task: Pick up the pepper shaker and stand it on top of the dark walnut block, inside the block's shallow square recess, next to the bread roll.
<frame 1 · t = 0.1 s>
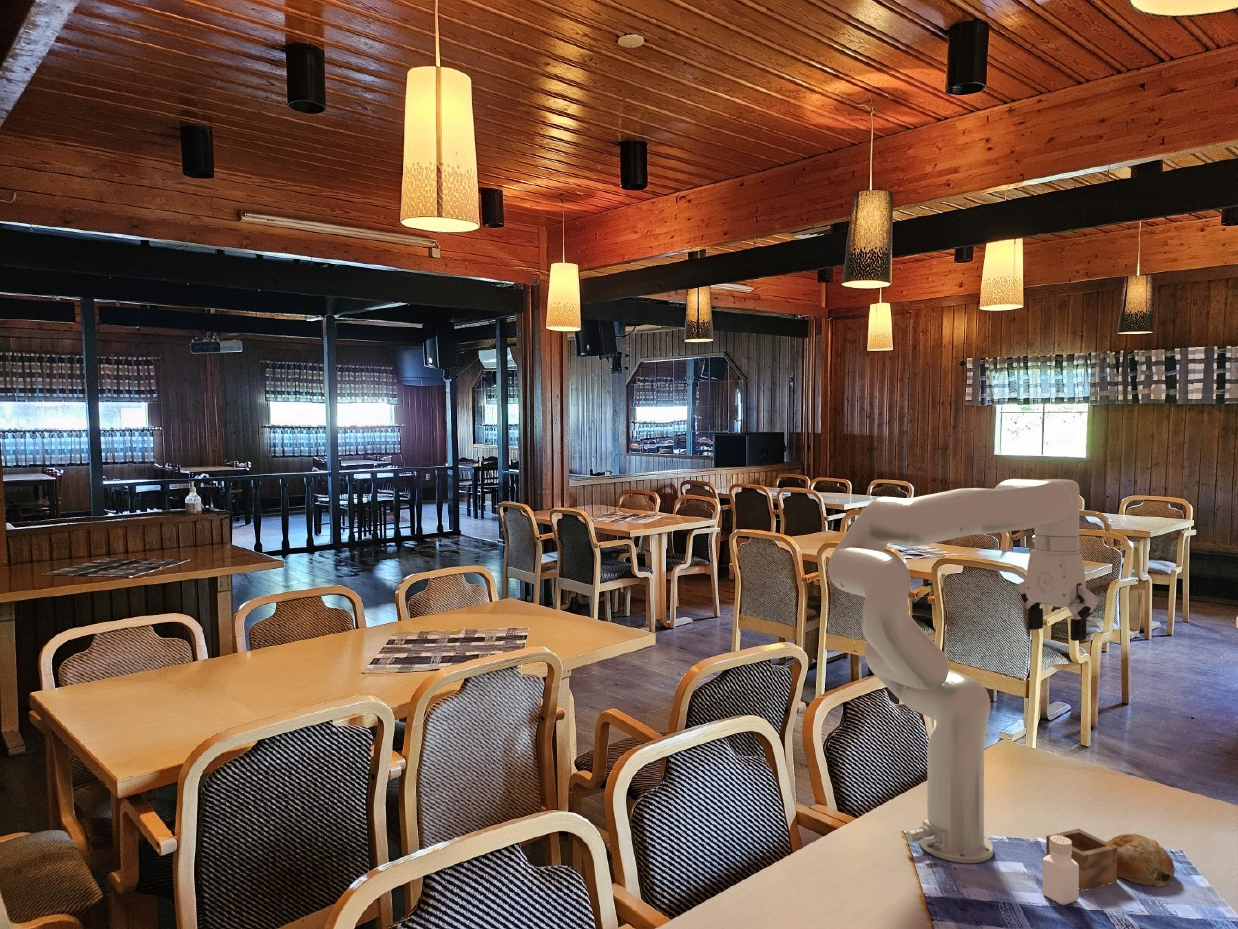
hand: (1056, 634, 158), 37 cm above the table, tool pointing down, fingers open, 9 cm apart
walnut block: (1081, 877, 141), on the table
pepper shaker: (1060, 899, 134), on the table
bread roll: (1135, 873, 142), on the table
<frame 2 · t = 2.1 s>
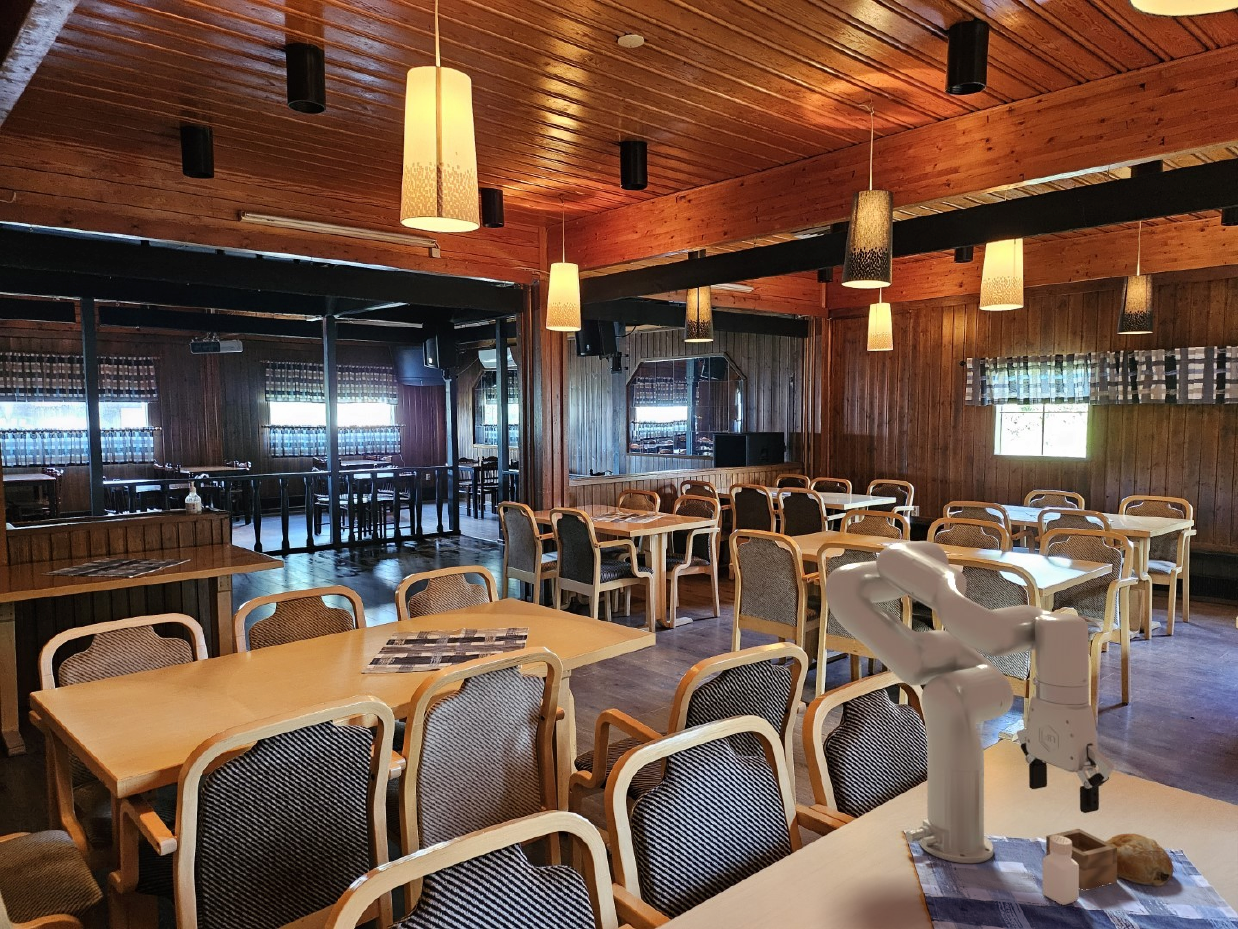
hand: (1063, 799, 133), 16 cm above the table, tool pointing down, fingers open, 9 cm apart
nothing on the table moved.
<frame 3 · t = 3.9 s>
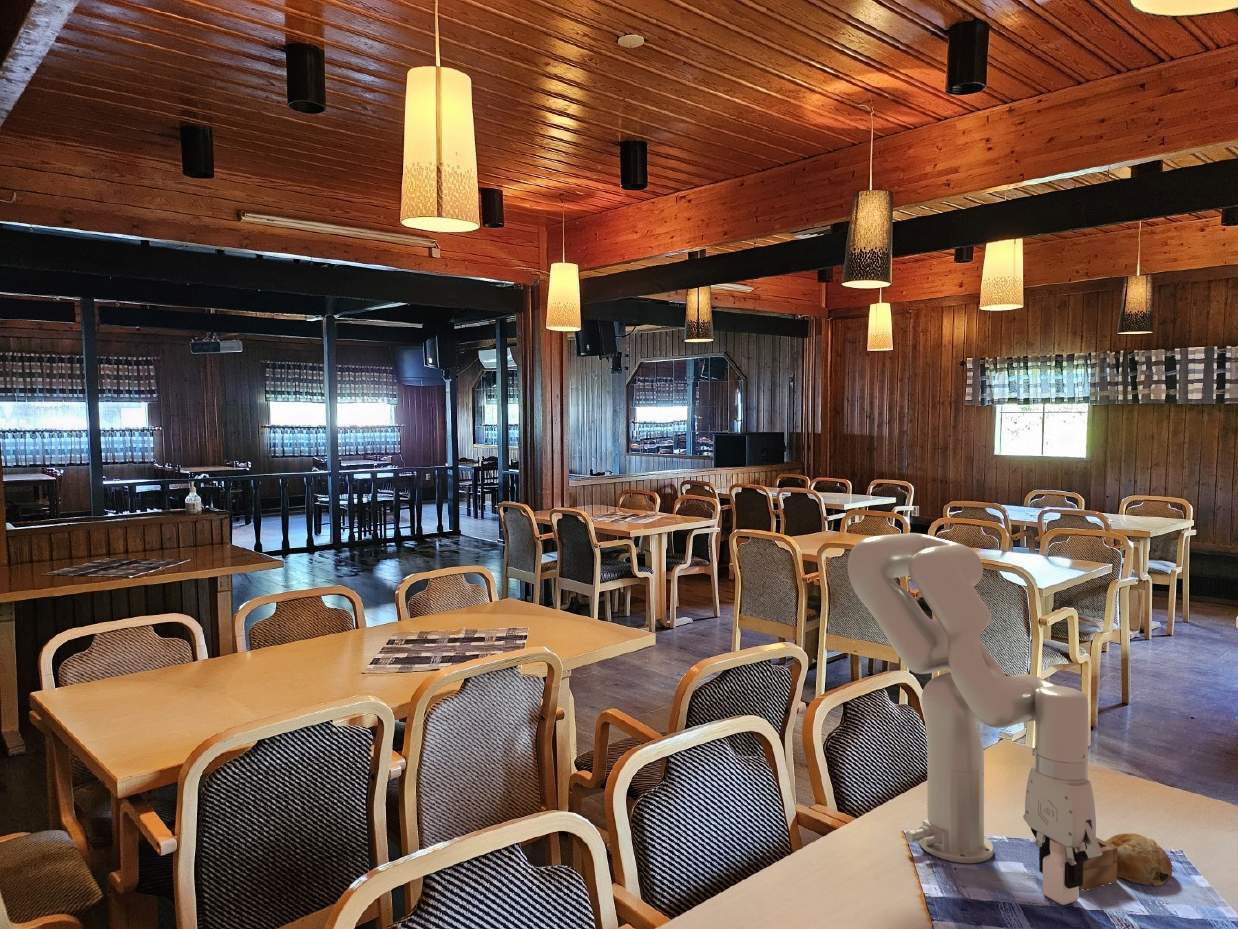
hand: (1060, 877, 134), 3 cm above the table, tool pointing down, fingers closed on pepper shaker, 4 cm apart
pepper shaker: (1060, 899, 134), on the table, touching gripper
everything else where it was.
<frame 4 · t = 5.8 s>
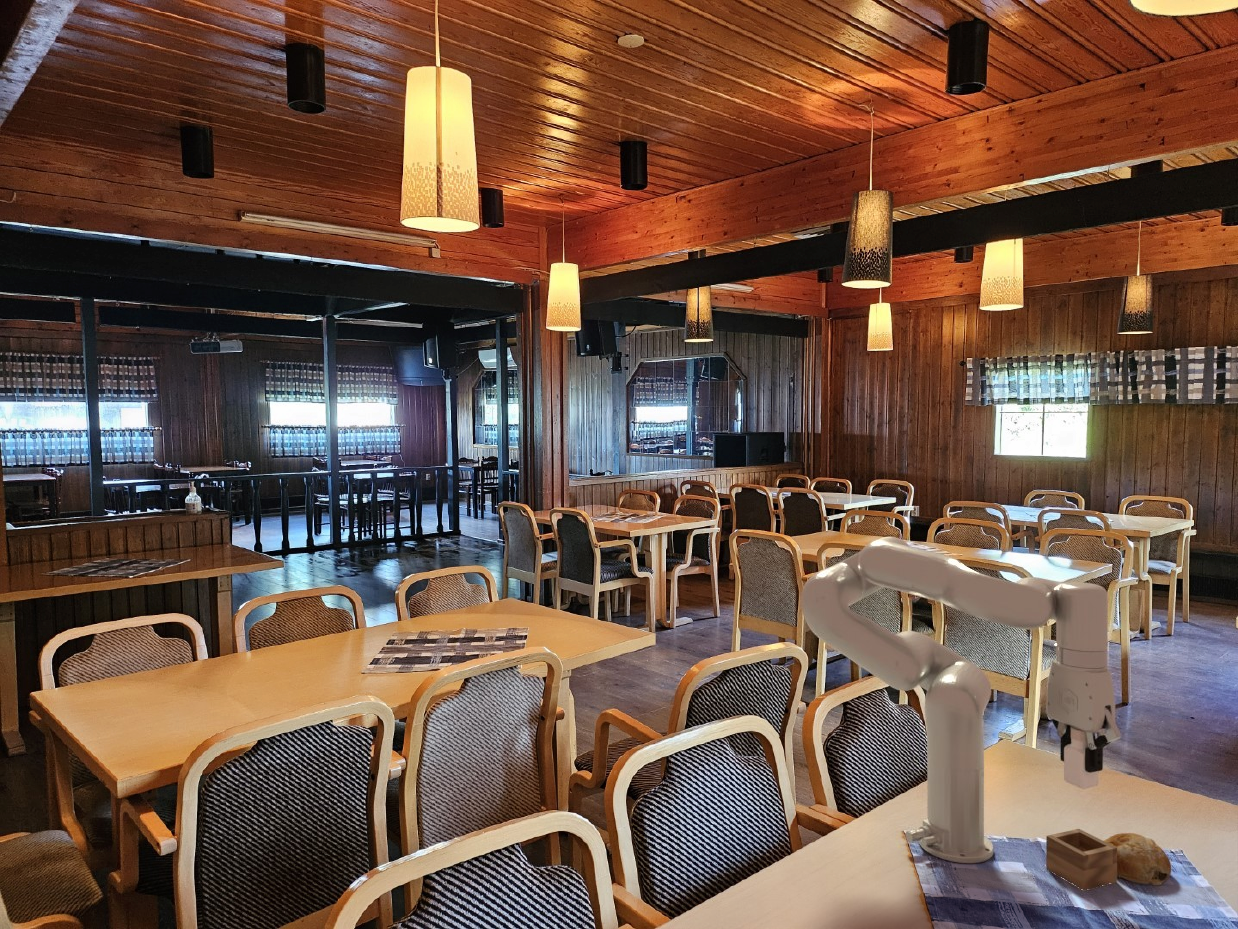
hand: (1081, 764, 140), 19 cm above the table, tool pointing down, fingers closed on pepper shaker, 4 cm apart
pepper shaker: (1081, 785, 140), point 15 cm above the table, touching gripper
everything else where it was.
when the fingers open (8 cm above the table, at t = 7.9 s): pepper shaker drops 1 cm, point 3 cm above the table.
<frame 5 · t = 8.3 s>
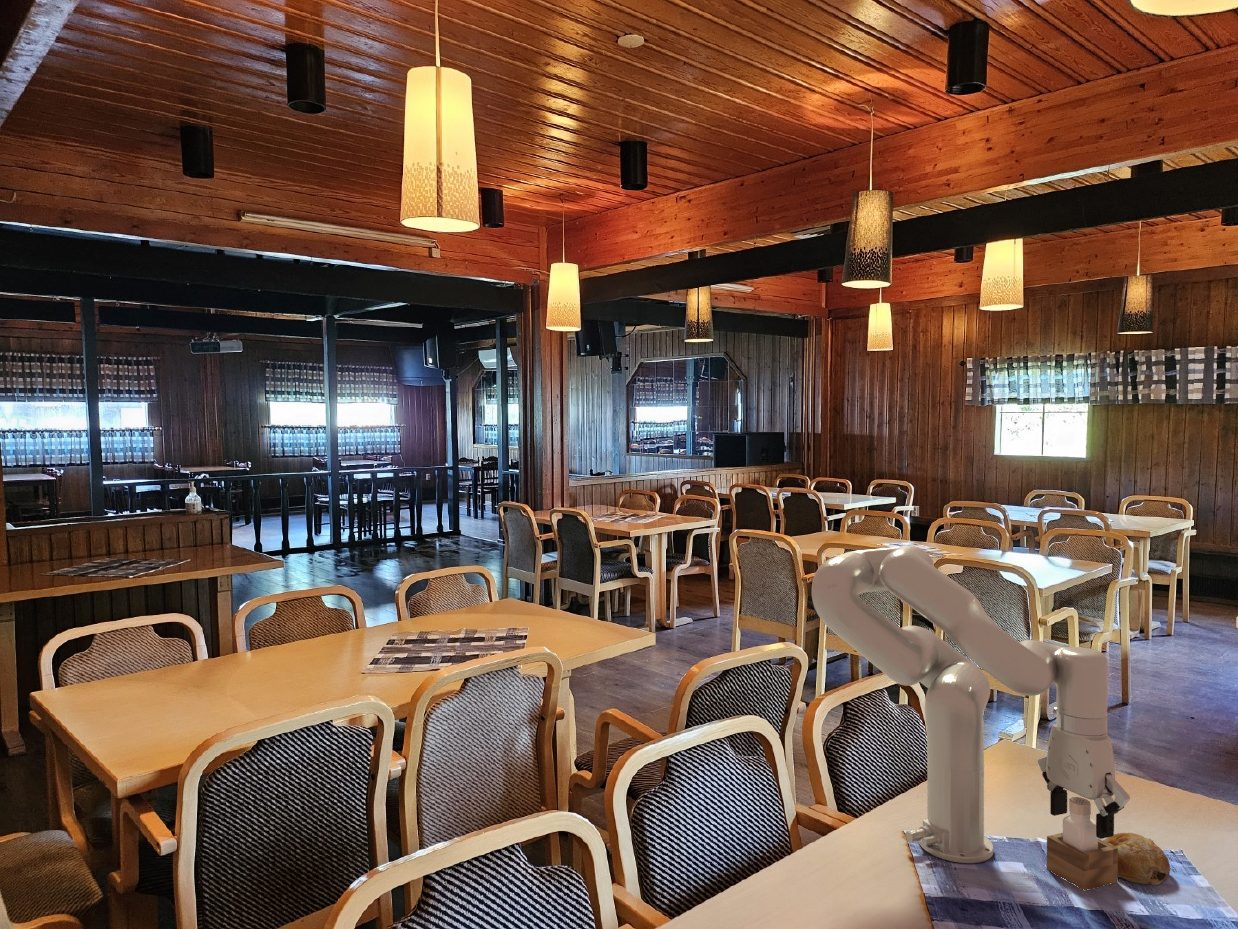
hand: (1081, 824, 140), 9 cm above the table, tool pointing down, fingers open, 8 cm apart
pepper shaker: (1080, 857, 141), point 3 cm above the table
everything else where it was.
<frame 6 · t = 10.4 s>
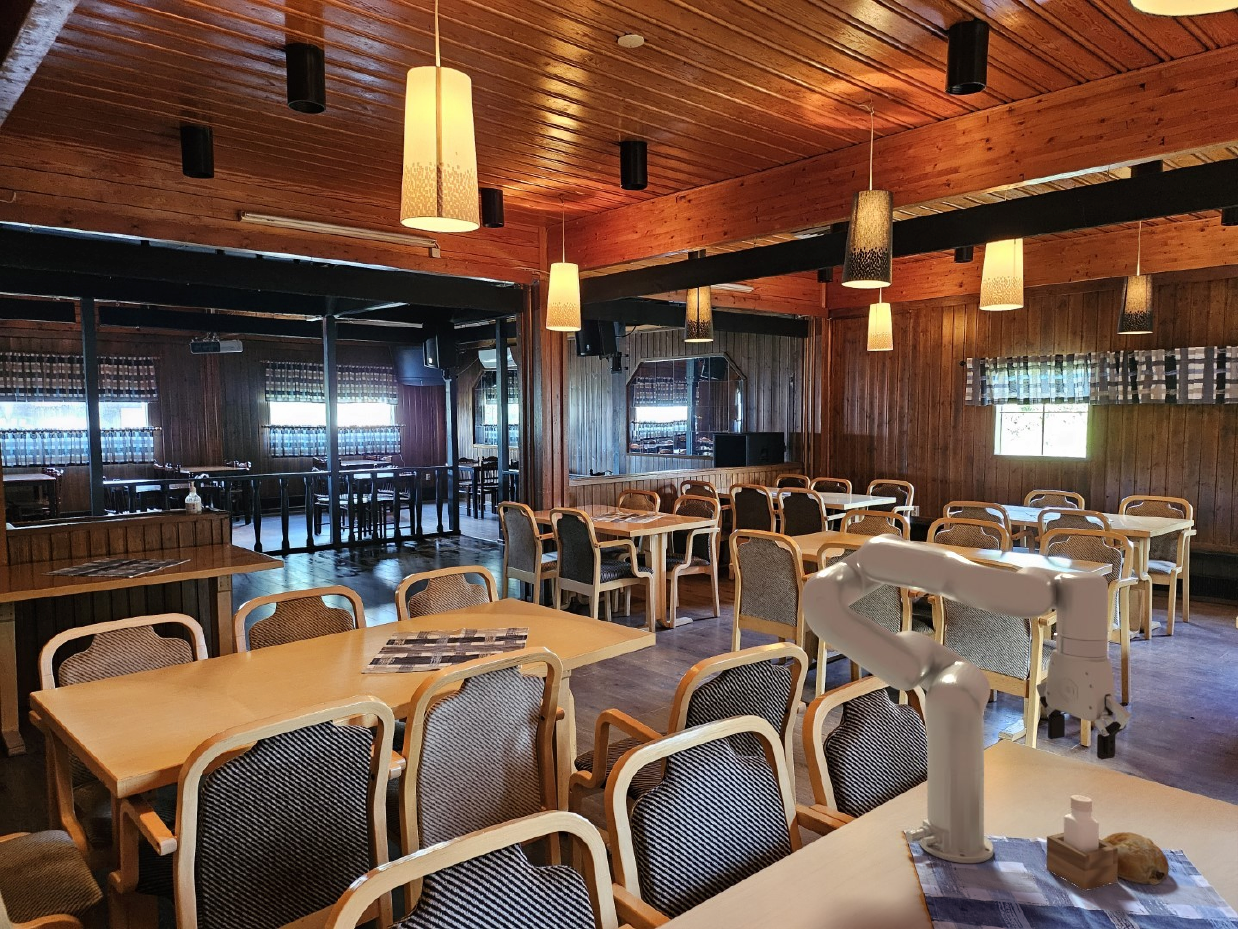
hand: (1080, 747, 140), 22 cm above the table, tool pointing down, fingers open, 9 cm apart
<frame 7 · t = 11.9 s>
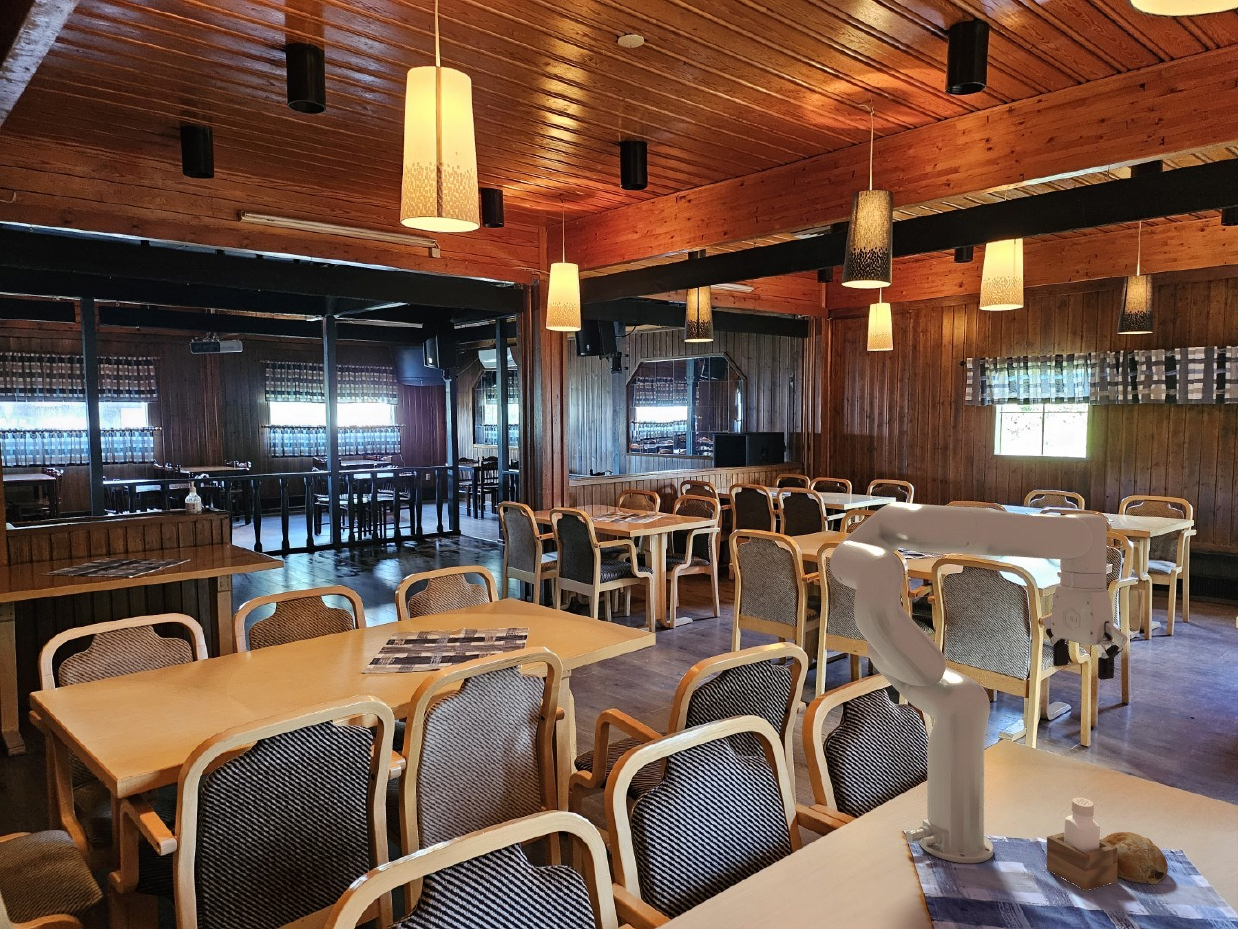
hand: (1082, 671, 155), 30 cm above the table, tool pointing down, fingers open, 9 cm apart
walnut block: (1081, 877, 141), on the table, touching pepper shaker
pepper shaker: (1081, 856, 141), point 3 cm above the table, touching walnut block
everything else where it was.
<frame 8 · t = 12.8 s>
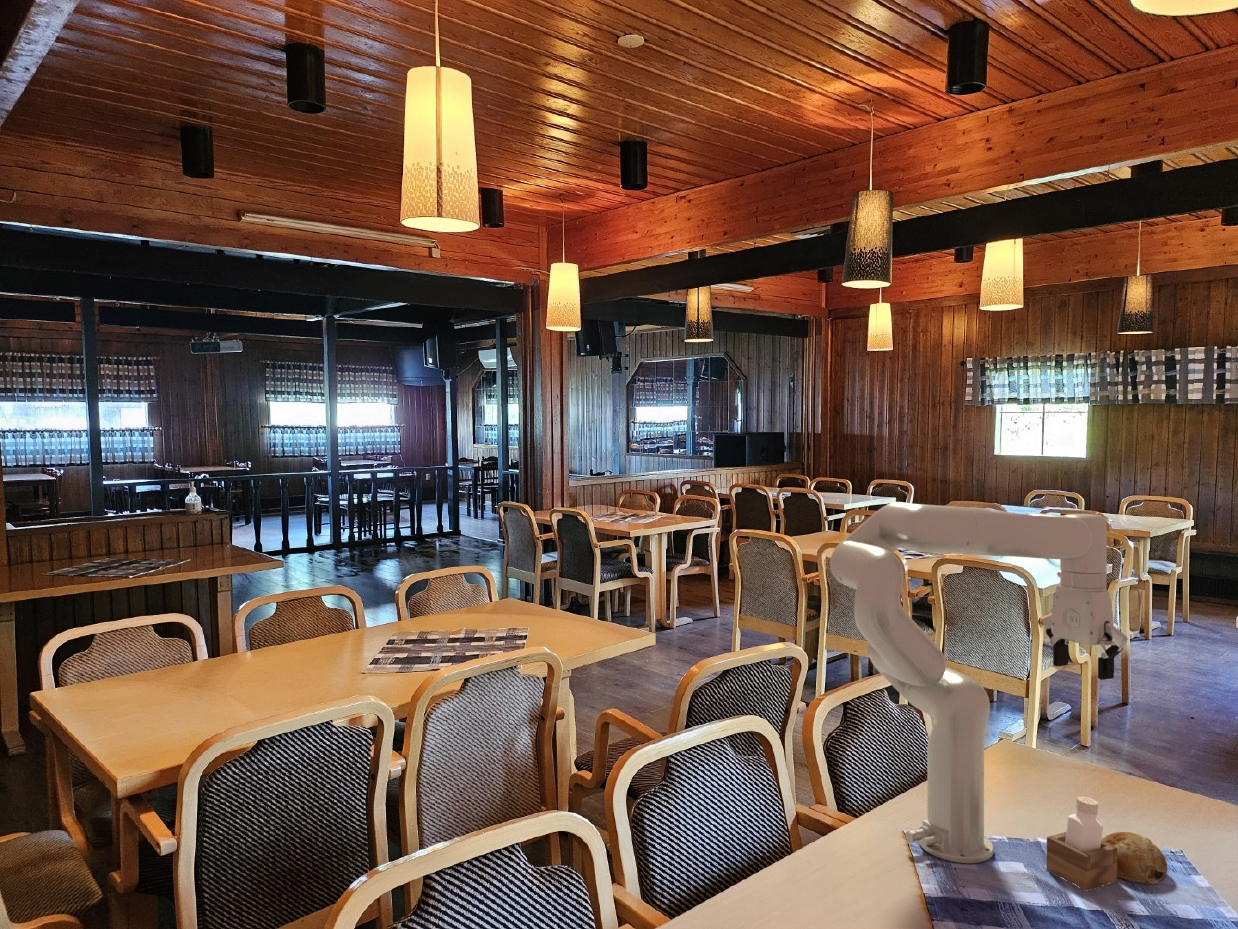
hand: (1082, 671, 155), 30 cm above the table, tool pointing down, fingers open, 9 cm apart
at the end: pepper shaker 0.0 cm off-centre on the walnut block, point 3.5 cm above the walnut block's base; pepper shaker tilted 4°; the gripper is holding nothing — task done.
